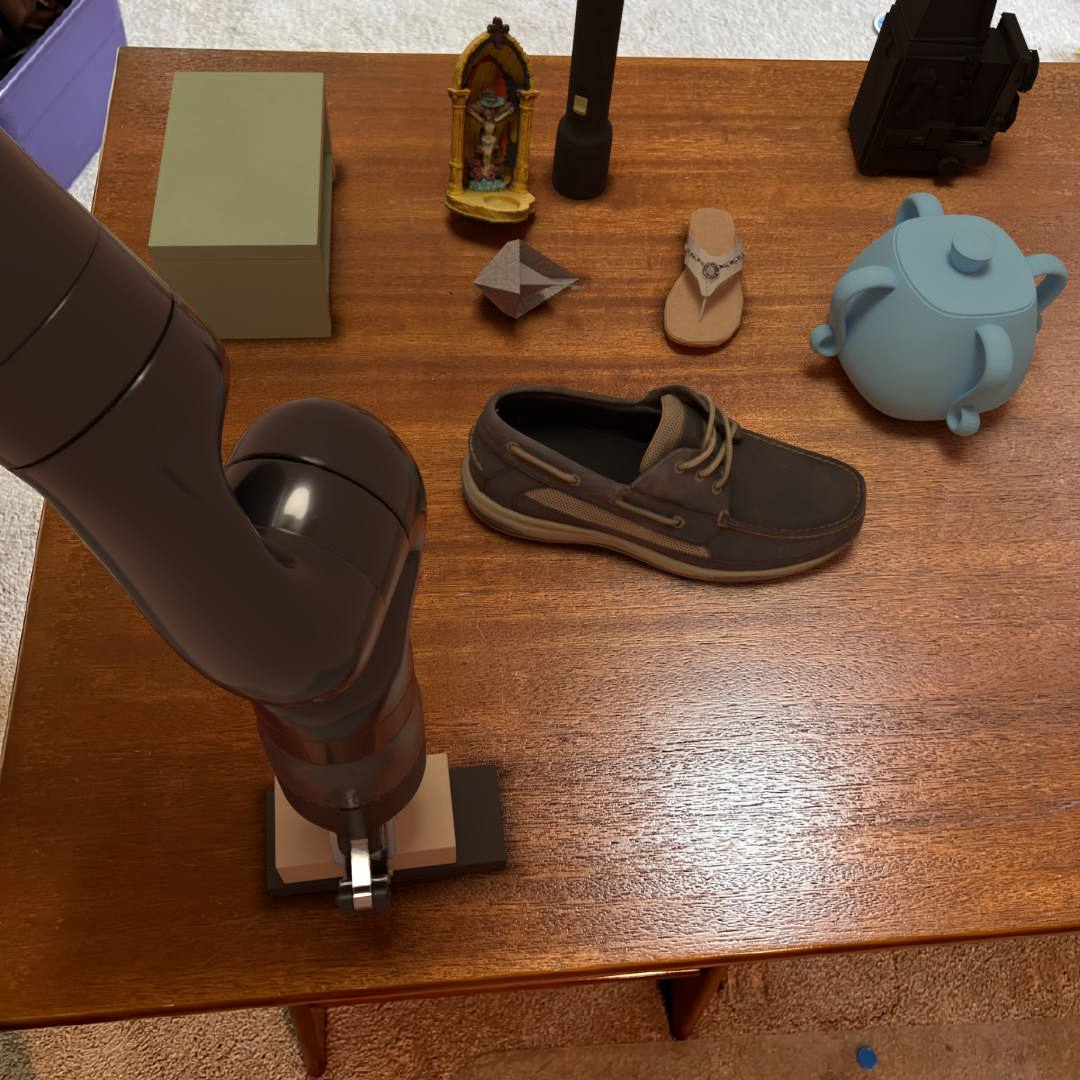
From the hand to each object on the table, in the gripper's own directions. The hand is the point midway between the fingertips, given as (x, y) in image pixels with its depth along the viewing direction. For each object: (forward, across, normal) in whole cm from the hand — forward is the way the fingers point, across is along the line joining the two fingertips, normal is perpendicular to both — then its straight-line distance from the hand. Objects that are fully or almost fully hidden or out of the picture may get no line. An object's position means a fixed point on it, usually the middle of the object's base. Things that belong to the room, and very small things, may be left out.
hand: (369, 830), depth 65 cm
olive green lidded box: (+1, -51, -6) cm, 51 cm away
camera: (+1, -60, +56) cm, 82 cm away
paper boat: (+1, -42, +15) cm, 45 cm away
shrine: (+1, -55, +14) cm, 57 cm away
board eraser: (+1, 0, +1) cm, 2 cm away
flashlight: (+1, -58, +22) cm, 62 cm away
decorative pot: (+1, -34, +46) cm, 57 cm away
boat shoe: (+1, -21, +22) cm, 31 cm away
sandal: (+1, -44, +31) cm, 54 cm away
